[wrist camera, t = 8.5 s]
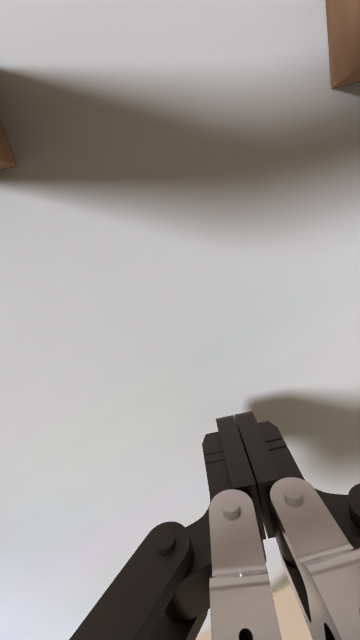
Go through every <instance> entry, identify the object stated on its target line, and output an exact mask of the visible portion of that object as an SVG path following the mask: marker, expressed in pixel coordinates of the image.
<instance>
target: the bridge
mask: <svg viewBox="0 0 360 640" xmlns="http://www.w3.org/2000/svg"><path fill="white" fill-rule="evenodd" d="M326 13H327V28H328V44H329V59H330V74H331V88H336V87H340V86H344V85H348V84H352V83H356V82H360V0H326ZM13 166H16V164H15V161H14V158H13V156H12V153H11V150H10V147H9V144H8V141H7V138H6V136H5V133H4V130H3V127H2V124H1V121H0V170H1V169H5V168H9V167H13Z"/></svg>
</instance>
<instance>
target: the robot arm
mask: <svg viewBox="0 0 360 640" xmlns="http://www.w3.org/2000/svg"><path fill="white" fill-rule="evenodd" d="M234 417H235V419H234ZM216 422H217V427H218V431H219V432H215V433H210V434H206V436H205V438H204V441H203V443H202V446H203V453H204V459H205V466H206V472H207V479H208V485H209V492H210V505H209V508H208V510H207V511H206V513H205V514H204V515H203V517H201V518H200V519H199V520H198V521H196V522H195V523H193V524H191V525H189V526H187V527H186V528H185V527H184V526H183V525H181V524H180V523H177V522H165V523H162V524H160V525H158V526H156V527H155V528H154V529H152V530H151V532H150V533H149V534H148V535H147V537H146V538H145V539H144V541H143V542H142V543H141V545H140V546H139V547H138V549H137V550H136V551H135V553H134V554H133V555H132V557H131V558H130V559H129V561H128V562H127V563H126V565H125V566H124V567H123V569H122V570H121V571H120V573H119V574H118V575H117V577H116V578H115V579H114V581H113V582H112V583H111V585H110V586H109V587H108V589H107V590H106V591H105V593H104V594H103V595H102V597H101V598H100V599H99V601H98V602H97V603H96V605H95V606H94V607H93V609H92V610H91V611H90V613H89V614H88V615H87V617H86V618H85V619H84V621H83V622H82V623H81V625H80V626H79V628H78V629H77V630H76V632H75V633H74V634H73V636H72V637H71V638H70V640H195V639H196V637H197V635H198V633H199V631H200V629H201V627H202V625H203V623H204V621H205V618H206V616H207V612H208V609H209V608H210V613H211V633H212V634H211V635H212V640H282V639H281V634H280V629H279V624H278V619H277V615H276V610H275V605H274V600H273V595H272V591H271V586H270V581H269V576H268V572H267V567H266V555H265V550H264V544H263V540H264V539H266V535H265V530H266V533H267V536H268V538H273V537H276V540H277V543H278V546H279V549H280V555H281V561H282V564H283V566H284V569H285V571H286V574H287V576H288V579H289V581H290V583H291V586H292V588H293V591H294V593H295V596H296V598H297V601H298V603H299V605H300V608H301V610H302V613H303V615H304V618H305V620H306V623H307V625H308V627H309V630H310V633H311V636H312V639H313V640H360V484H357V485H355V486H354V487H352V488H351V490H350V491H349V494H348V495H339V494H330V493H325V492H322V491H319V490H317V489H315V488H314V487H313V486H312V485H311V484H310V483H308V482H307V481H305V479H304V478H303V476H302V474H301V472H300V470H299V468H298V466H297V464H296V463H295V461H294V459H293V457H292V455H291V453H290V451H289V449H288V448H287V445H286V443H285V441H284V440H283V437H282V436H281V434H280V432H279V430H278V428H277V427H275V426H274V425H273V424H271V423H270V422H269V421H266V422H261V423H257V421H256V419H255V417H254V414H253V412H252V411H250V412H245V413H241V414H236V415H234V416H233V415H232V416H227V417H222V418H218V419H216ZM263 523H264V524H263ZM264 526H265V530H264Z"/></svg>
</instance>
